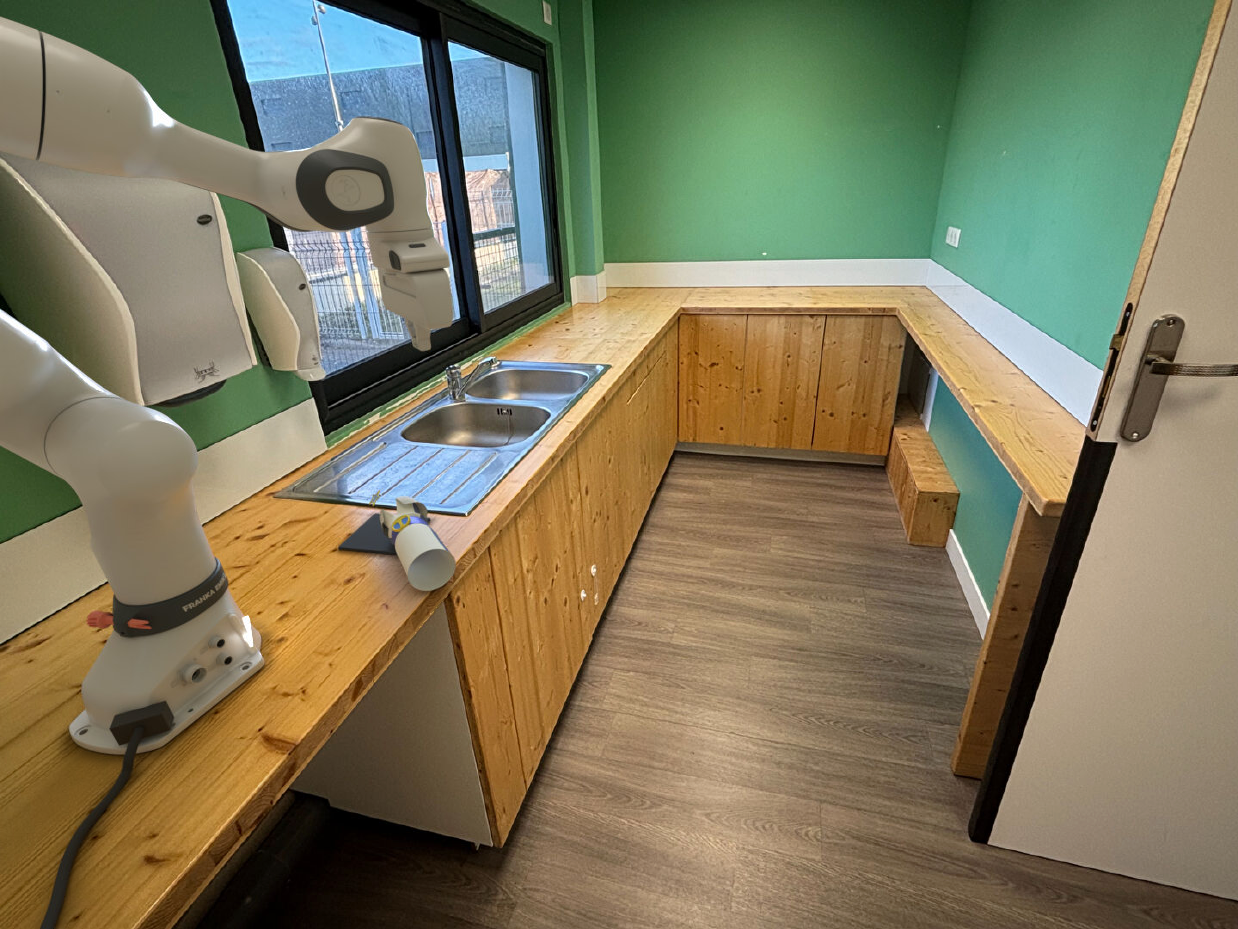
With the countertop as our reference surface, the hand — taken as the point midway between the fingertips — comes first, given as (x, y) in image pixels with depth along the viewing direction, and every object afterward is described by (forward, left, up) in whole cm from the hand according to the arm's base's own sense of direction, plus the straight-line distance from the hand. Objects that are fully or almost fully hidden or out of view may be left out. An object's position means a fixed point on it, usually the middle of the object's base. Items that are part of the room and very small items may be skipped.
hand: (422, 348), depth 90 cm
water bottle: (-10, -1, -33) cm, 34 cm away
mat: (+4, +17, -37) cm, 41 cm away
